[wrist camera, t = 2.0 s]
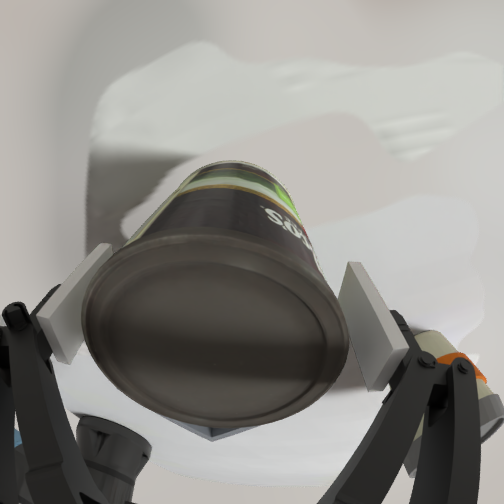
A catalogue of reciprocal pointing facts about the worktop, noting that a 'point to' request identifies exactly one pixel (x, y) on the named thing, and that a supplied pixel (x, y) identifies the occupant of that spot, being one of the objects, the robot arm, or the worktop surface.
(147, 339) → the coffee can
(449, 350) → the reusable coffee cup
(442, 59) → the worktop surface
